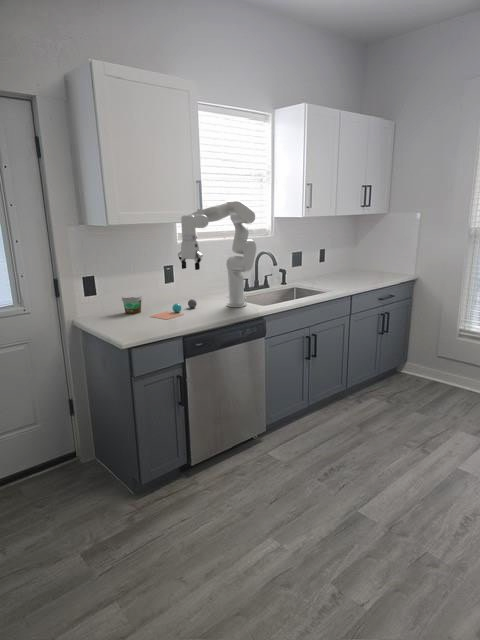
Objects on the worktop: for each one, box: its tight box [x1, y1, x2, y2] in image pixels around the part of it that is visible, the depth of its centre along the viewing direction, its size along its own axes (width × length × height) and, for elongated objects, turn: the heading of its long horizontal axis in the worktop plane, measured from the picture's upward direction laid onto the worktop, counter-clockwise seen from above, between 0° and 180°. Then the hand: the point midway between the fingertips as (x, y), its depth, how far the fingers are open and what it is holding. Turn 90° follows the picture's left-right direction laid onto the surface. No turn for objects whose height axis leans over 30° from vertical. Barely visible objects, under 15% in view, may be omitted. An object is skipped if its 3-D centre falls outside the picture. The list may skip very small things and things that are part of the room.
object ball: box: [171, 303, 182, 313], centre depth 261 cm, size 6×6×6 cm
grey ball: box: [187, 299, 197, 309], centre depth 272 cm, size 6×6×6 cm
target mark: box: [149, 311, 184, 320], centre depth 254 cm, size 14×14×1 cm
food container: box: [121, 296, 143, 315], centre depth 260 cm, size 12×6×10 cm, turn 92°
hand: (190, 269), depth 242 cm, fingers open, 9 cm apart
